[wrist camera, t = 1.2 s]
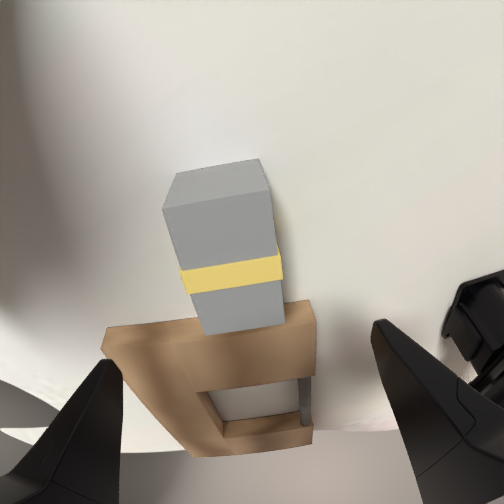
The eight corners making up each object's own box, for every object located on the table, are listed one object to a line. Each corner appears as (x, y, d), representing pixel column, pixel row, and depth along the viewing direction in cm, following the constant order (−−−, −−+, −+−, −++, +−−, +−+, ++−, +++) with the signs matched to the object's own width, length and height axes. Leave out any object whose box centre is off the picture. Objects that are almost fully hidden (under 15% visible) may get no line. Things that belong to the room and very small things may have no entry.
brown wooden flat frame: (308, 299, 20) (315, 322, 18) (308, 429, 32) (311, 444, 30) (107, 327, 20) (100, 349, 18) (193, 443, 32) (193, 457, 30)
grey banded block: (260, 158, 14) (272, 190, 11) (275, 273, 18) (287, 324, 15) (174, 173, 14) (158, 210, 11) (205, 284, 18) (203, 337, 15)
